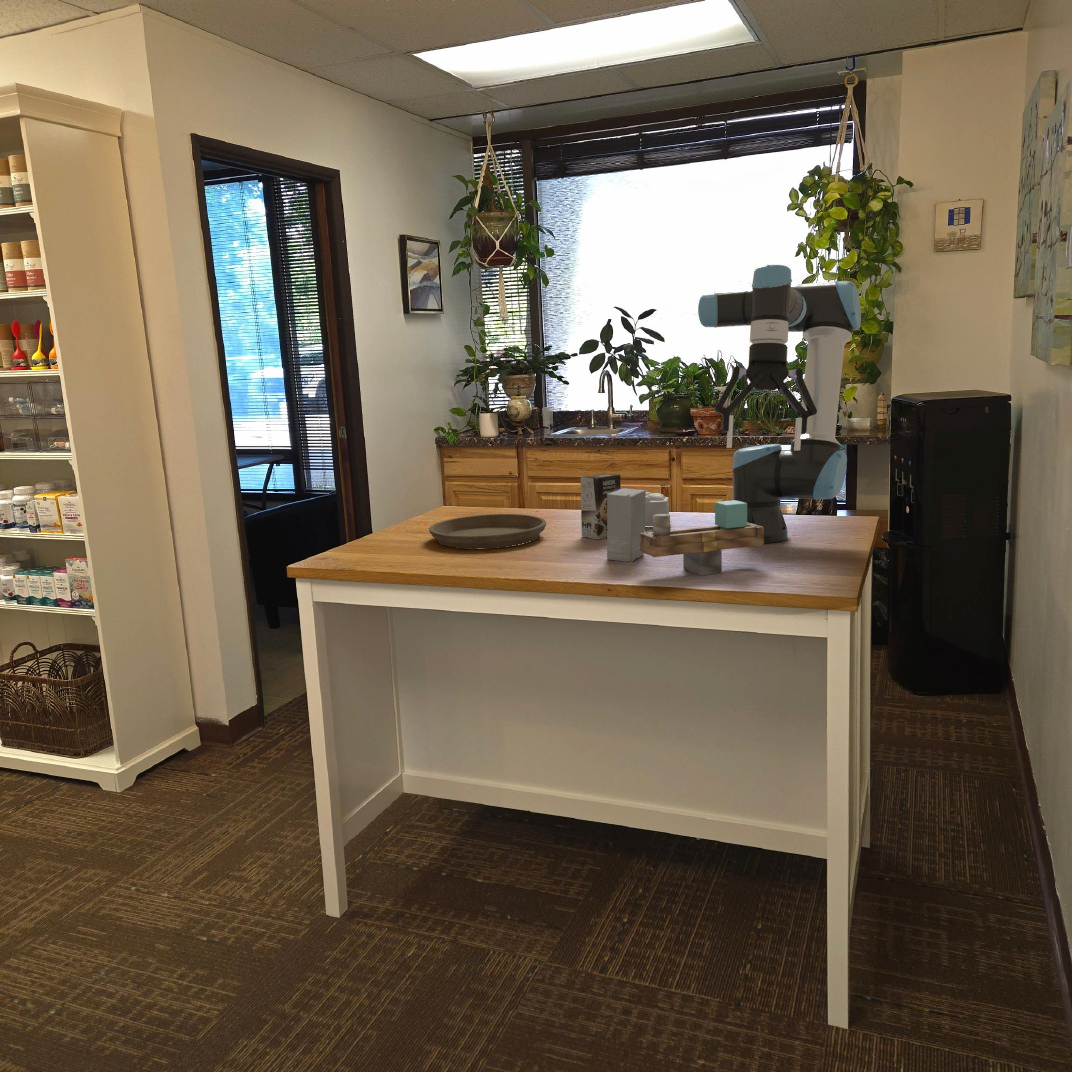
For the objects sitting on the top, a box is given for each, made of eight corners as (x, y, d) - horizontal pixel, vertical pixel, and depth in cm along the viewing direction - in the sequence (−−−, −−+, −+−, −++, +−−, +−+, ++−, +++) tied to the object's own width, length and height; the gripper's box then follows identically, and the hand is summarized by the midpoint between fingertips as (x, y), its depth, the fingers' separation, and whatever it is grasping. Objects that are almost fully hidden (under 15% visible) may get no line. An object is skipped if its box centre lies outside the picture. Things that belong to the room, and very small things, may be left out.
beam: (745, 561, 210) (745, 504, 208) (764, 568, 203) (765, 508, 200) (639, 573, 203) (638, 514, 200) (655, 581, 195) (654, 519, 193)
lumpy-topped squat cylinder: (667, 528, 255) (666, 496, 253) (619, 528, 257) (618, 496, 256) (669, 521, 265) (669, 491, 263) (624, 521, 267) (623, 491, 266)
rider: (735, 531, 207) (735, 500, 205) (747, 535, 202) (747, 503, 201) (715, 534, 205) (714, 502, 204) (726, 537, 200) (726, 505, 199)
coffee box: (598, 540, 241) (596, 478, 238) (580, 537, 246) (579, 476, 243) (622, 534, 247) (621, 474, 244) (605, 532, 252) (603, 472, 249)
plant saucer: (452, 557, 228) (451, 538, 228) (415, 537, 256) (414, 521, 255) (566, 542, 241) (565, 525, 240) (519, 525, 269) (518, 509, 268)
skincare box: (621, 553, 224) (619, 487, 221) (648, 555, 221) (647, 488, 218) (605, 560, 217) (603, 492, 214) (633, 562, 213) (631, 493, 210)
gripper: (707, 339, 187) (702, 445, 188) (835, 342, 185) (829, 450, 186) (704, 345, 194) (699, 447, 195) (827, 348, 192) (821, 452, 193)
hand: (763, 449), depth 191 cm, fingers open, 13 cm apart
